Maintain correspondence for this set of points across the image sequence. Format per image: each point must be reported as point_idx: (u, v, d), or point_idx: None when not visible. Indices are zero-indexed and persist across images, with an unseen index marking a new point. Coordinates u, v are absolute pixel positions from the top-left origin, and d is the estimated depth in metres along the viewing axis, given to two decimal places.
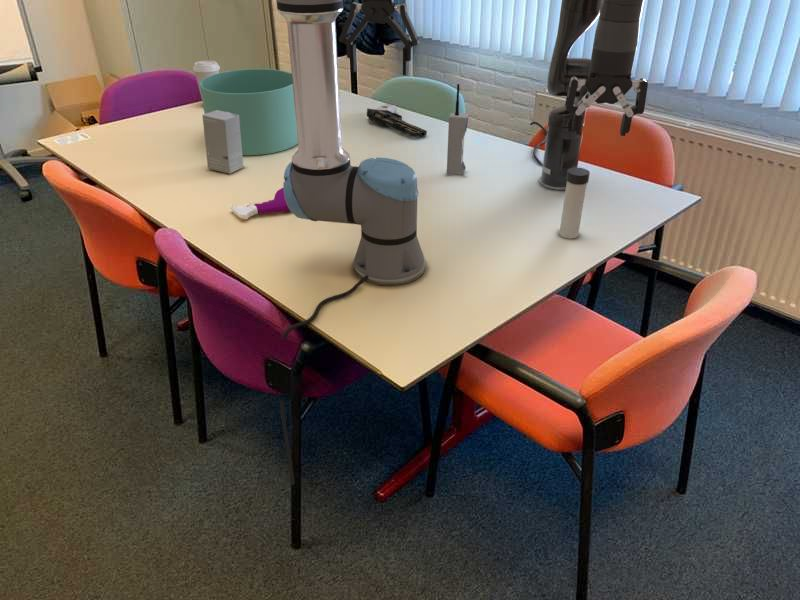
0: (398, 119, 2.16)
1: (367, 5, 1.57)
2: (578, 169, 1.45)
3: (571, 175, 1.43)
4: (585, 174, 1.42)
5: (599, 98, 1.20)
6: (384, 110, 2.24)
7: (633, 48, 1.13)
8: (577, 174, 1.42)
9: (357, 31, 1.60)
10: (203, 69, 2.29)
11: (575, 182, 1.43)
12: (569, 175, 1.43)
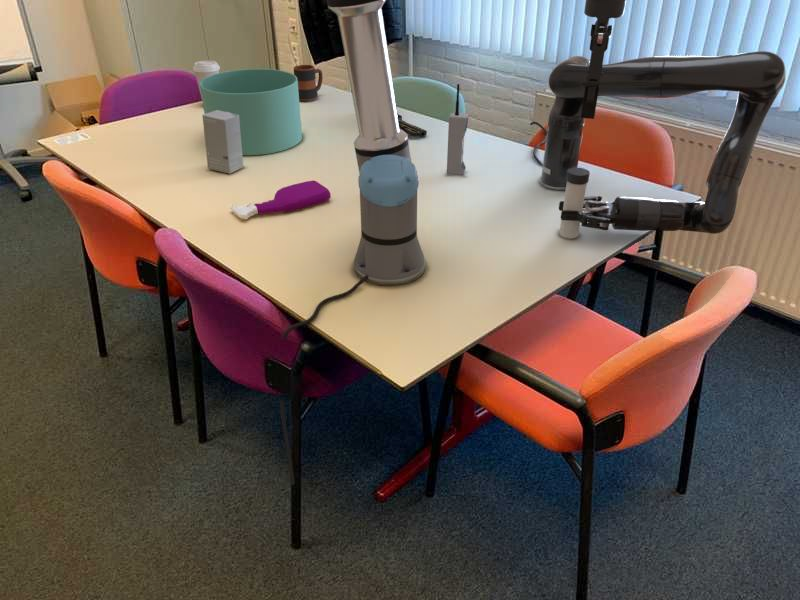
0: (398, 119, 2.16)
1: (608, 24, 1.24)
2: (578, 169, 1.45)
3: (571, 175, 1.43)
4: (585, 174, 1.42)
5: None
6: None
7: None
8: (577, 174, 1.42)
9: None
10: (203, 69, 2.29)
11: (575, 182, 1.43)
12: (569, 175, 1.43)
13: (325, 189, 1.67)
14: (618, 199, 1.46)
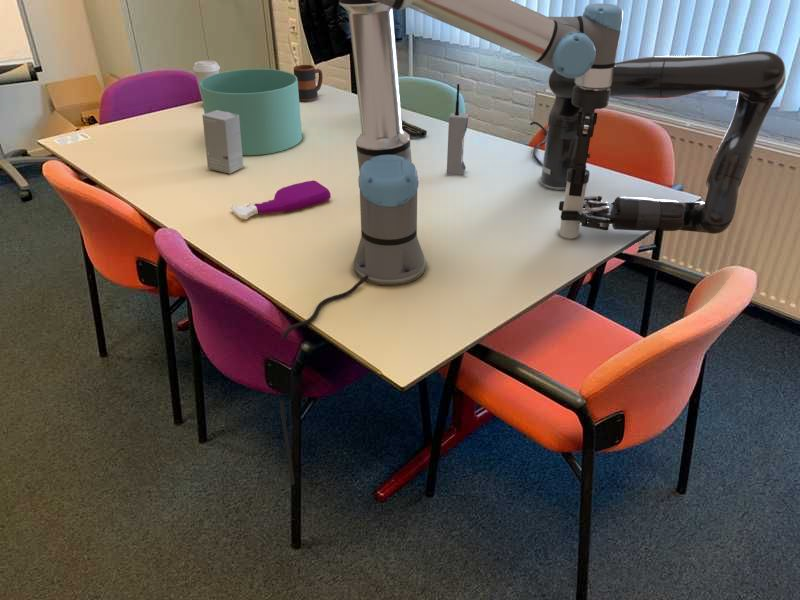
0: None
1: (593, 114, 1.34)
2: None
3: (571, 175, 1.43)
4: (585, 174, 1.42)
5: None
6: None
7: None
8: None
9: None
10: (203, 69, 2.29)
11: None
12: (569, 175, 1.43)
13: (325, 189, 1.67)
14: (618, 199, 1.46)
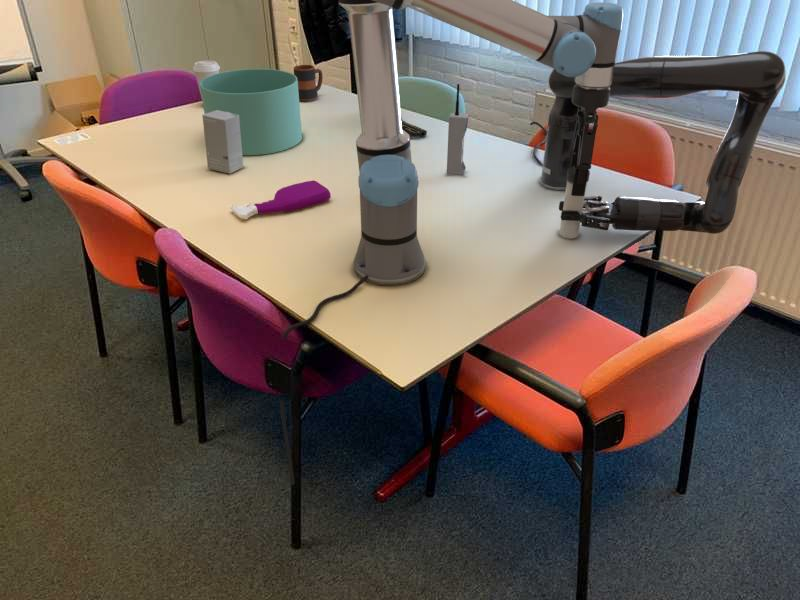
0: None
1: None
2: (573, 169, 1.44)
3: None
4: None
5: None
6: None
7: None
8: None
9: None
10: (203, 69, 2.29)
11: None
12: None
13: (325, 189, 1.67)
14: (618, 199, 1.46)
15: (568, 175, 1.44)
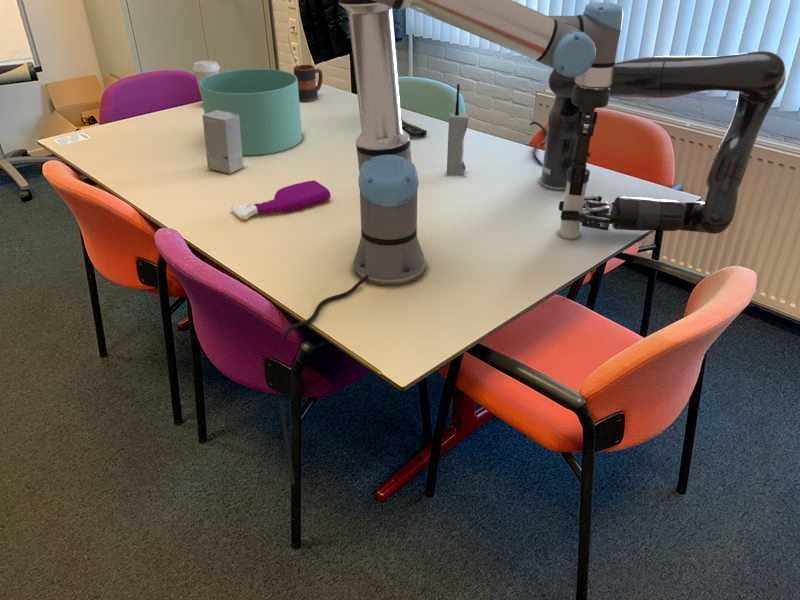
0: None
1: (593, 113, 1.34)
2: None
3: None
4: (587, 170, 1.44)
5: None
6: None
7: None
8: (586, 173, 1.42)
9: None
10: (203, 69, 2.29)
11: (586, 180, 1.43)
12: None
13: (325, 189, 1.67)
14: (618, 199, 1.46)
15: (568, 175, 1.44)
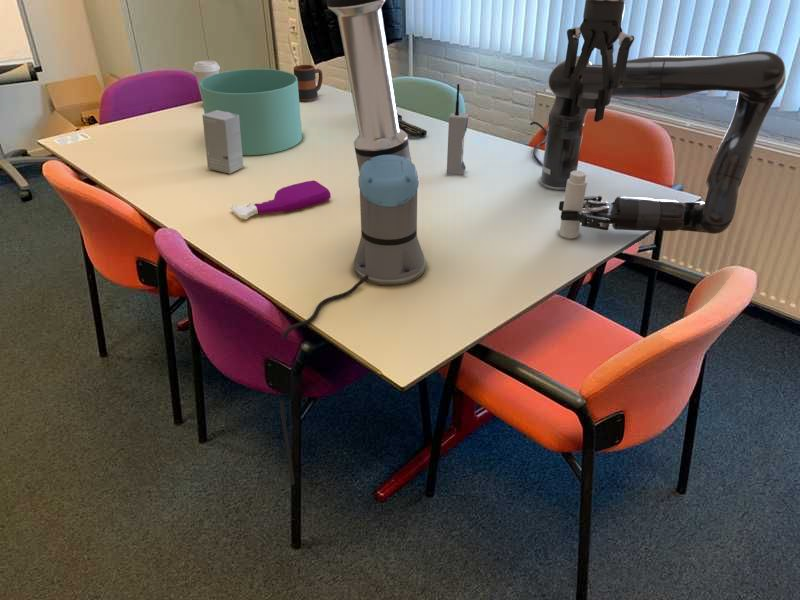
0: (398, 119, 2.16)
1: None
2: (585, 96, 1.34)
3: None
4: (590, 93, 1.36)
5: None
6: None
7: None
8: (597, 95, 1.35)
9: None
10: (203, 69, 2.29)
11: None
12: None
13: (325, 189, 1.67)
14: (618, 199, 1.46)
15: (590, 103, 1.33)
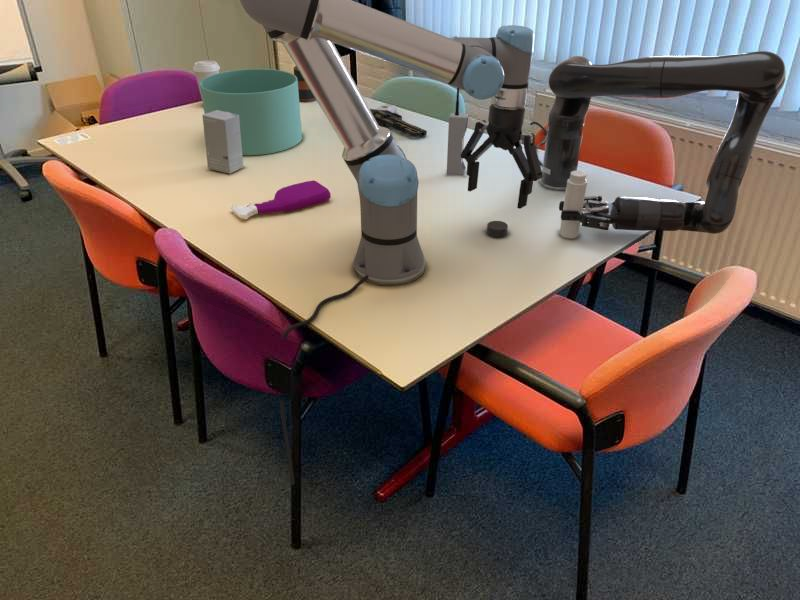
0: (398, 119, 2.16)
1: None
2: (493, 226, 1.51)
3: (507, 227, 1.52)
4: (498, 221, 1.53)
5: None
6: (384, 110, 2.24)
7: None
8: (504, 224, 1.52)
9: None
10: (203, 69, 2.29)
11: None
12: (507, 229, 1.51)
13: (325, 189, 1.67)
14: (618, 199, 1.46)
15: (496, 233, 1.50)
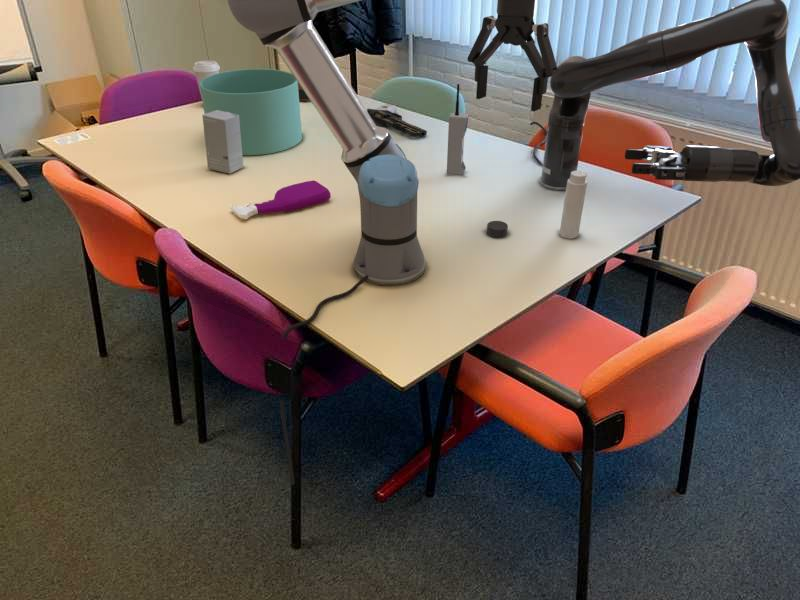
0: (398, 119, 2.16)
1: None
2: (493, 226, 1.51)
3: (507, 227, 1.52)
4: (498, 221, 1.53)
5: None
6: (384, 110, 2.24)
7: None
8: (504, 224, 1.52)
9: None
10: (203, 69, 2.29)
11: None
12: (507, 229, 1.51)
13: (325, 189, 1.67)
14: (687, 147, 1.38)
15: (496, 233, 1.50)
